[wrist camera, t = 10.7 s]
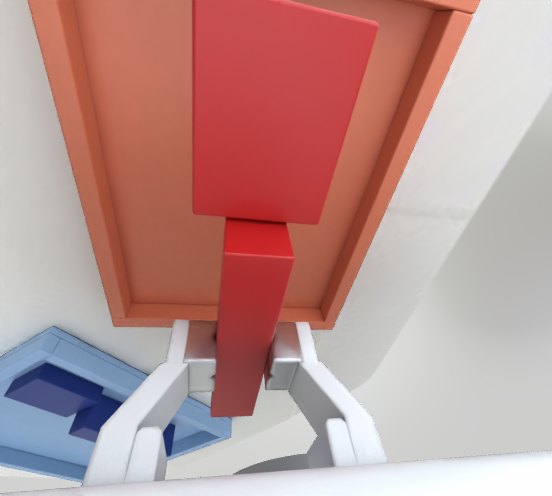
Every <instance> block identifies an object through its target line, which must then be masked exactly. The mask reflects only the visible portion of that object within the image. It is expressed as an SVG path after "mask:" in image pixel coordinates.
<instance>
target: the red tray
mask: <svg viewBox="0 0 552 496" xmlns="http://www.w3.org/2000/svg"><path fill="white" fill-rule="evenodd" d="M288 1H292V2H296V3H301V4H305V5H309V6H313V7H317V8H322V9H326V10H330V11H334V12H338V13H343V14H347V15H351V16H355V17H359V18H364V19H368V20H372V21H376V22H377V23H378V24H379V29H378V32H377V35H376V38H375V42H374V45H373V48H372V51H371V55H370V58H369V61H368V64H367V68H366V71H365V74H364V77H363V81H362V84H361V87H360V91H359V94H358V97H357V100H356V104H355V107H354V110H353V113H352V117H351V120H350V123H349V126H348V130H347V133H346V136H345V139H344V143H343V146H342V149H341V152H340V156H339V159H338V162H337V165H336V169H335V172H334V175H333V178H332V182H331V185H330V188H329V191H328V195H327V198H326V201H325V204H324V208H323V211H322V214H321V217H320V221H319V224H318V225H307V224H296V223H286V224H287V228H288V232H289V236H290V240H291V244H292V248H293V252H294V256H295V261H294V264H293V268H292V272H291V275H290V279H289V283H288V286H287V290H286V294H285V297H284V301H283V304H282V308H281V312H280V315H279V319H278V322H308V323H309V325H310V329H311V330H332V329H333V327H334V325H335V322H336V320H337V318H338V315H339V313H340V311H341V309H342V307H343V304H344V302H345V300H346V298H347V295H348V293H349V291H350V289H351V287H352V284H353V282H354V280H355V278H356V275H357V273H358V271H359V269H360V267H361V264H362V262H363V260H364V258H365V255H366V253H367V251H368V249H369V246H370V244H371V242H372V240H373V238H374V235H375V233H376V231H377V229H378V226H379V224H380V222H381V220H382V218H383V215H384V213H385V211H386V209H387V206H388V204H389V202H390V200H391V198H392V195H393V193H394V191H395V189H396V186H397V184H398V182H399V180H400V178H401V175H402V173H403V171H404V169H405V166H406V164H407V162H408V160H409V158H410V155H411V153H412V151H413V149H414V146H415V144H416V142H417V140H418V138H419V135H420V133H421V131H422V129H423V126H424V124H425V122H426V120H427V118H428V115H429V113H430V111H431V109H432V106H433V104H434V102H435V100H436V98H437V95H438V93H439V91H440V89H441V86H442V84H443V82H444V80H445V77H446V75H447V73H448V71H449V69H450V66H451V64H452V62H453V60H454V57H455V55H456V53H457V51H458V49H459V46H460V44H461V42H462V40H463V37H464V35H465V33H466V31H467V29H468V26H469V24H470V22H471V20H472V17H473V15H472V14H473V13H475V11H476V9H477V7H478V5H479V2H480V0H288ZM28 4H29V7H30V11H31V15H32V19H33V22H34V26H35V30H36V34H37V38H38V41H39V45H40V49H41V53H42V57H43V60H44V64H45V68H46V72H47V75H48V79H49V83H50V87H51V91H52V94H53V98H54V102H55V106H56V110H57V113H58V117H59V121H60V125H61V129H62V132H63V136H64V140H65V144H66V147H67V151H68V155H69V159H70V163H71V166H72V170H73V174H74V178H75V182H76V185H77V189H78V193H79V197H80V200H81V204H82V208H83V212H84V216H85V219H86V223H87V227H88V231H89V235H90V238H91V242H92V246H93V250H94V253H95V257H96V261H97V265H98V269H99V272H100V276H101V280H102V284H103V288H104V291H105V295H106V299H107V303H108V306H109V310H110V314H111V317H112V322H113V326H114V327H173V323H174V321H175V319H179V320H205V321H217V315H218V303H219V290H220V277H221V264H222V252H223V239H224V226H225V217H217V216H206V215H195V214H193V212H192V0H28Z"/></svg>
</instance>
